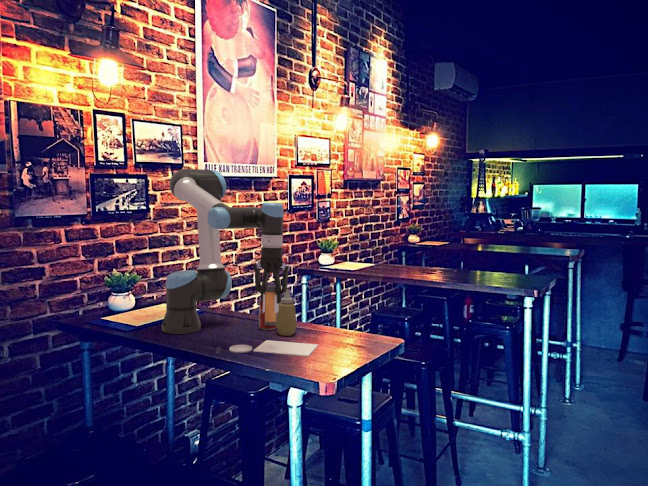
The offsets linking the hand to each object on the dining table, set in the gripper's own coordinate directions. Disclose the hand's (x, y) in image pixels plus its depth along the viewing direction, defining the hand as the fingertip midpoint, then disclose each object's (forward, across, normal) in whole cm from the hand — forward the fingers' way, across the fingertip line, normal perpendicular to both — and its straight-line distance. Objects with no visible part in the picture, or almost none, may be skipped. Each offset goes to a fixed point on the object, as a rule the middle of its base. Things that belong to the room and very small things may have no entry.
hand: (270, 311), depth 192 cm
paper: (+13, +6, 0) cm, 14 cm away
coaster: (+13, -9, -6) cm, 17 cm away
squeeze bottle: (+13, 0, +19) cm, 23 cm away
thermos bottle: (+5, 0, 0) cm, 5 cm away
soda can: (+13, -10, +26) cm, 31 cm away
